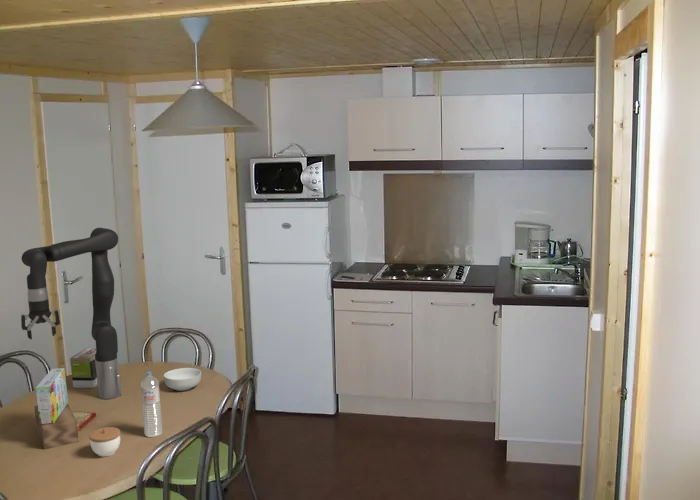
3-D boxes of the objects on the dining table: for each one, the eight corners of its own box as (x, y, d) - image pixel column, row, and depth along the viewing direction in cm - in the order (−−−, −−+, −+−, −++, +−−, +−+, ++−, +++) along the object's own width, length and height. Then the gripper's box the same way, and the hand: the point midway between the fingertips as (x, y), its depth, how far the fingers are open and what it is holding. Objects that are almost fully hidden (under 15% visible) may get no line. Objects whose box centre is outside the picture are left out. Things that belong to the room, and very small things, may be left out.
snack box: (54, 404, 281) (51, 368, 278) (69, 402, 281) (65, 367, 279) (38, 425, 260) (34, 386, 257) (54, 424, 261) (50, 385, 258)
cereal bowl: (209, 385, 320) (208, 370, 319) (183, 397, 307) (182, 381, 305) (183, 379, 329) (182, 365, 328) (156, 390, 316) (155, 375, 314)
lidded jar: (91, 462, 247) (89, 437, 245) (89, 450, 256) (87, 426, 255) (123, 456, 251) (121, 431, 249) (120, 444, 260) (118, 420, 259)
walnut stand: (67, 418, 286) (66, 400, 285) (78, 441, 264) (76, 421, 262) (36, 425, 280) (34, 406, 279) (44, 449, 258) (42, 428, 256)
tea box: (88, 376, 336) (86, 347, 334) (108, 377, 335) (105, 347, 332) (72, 388, 321) (69, 357, 319) (92, 388, 320) (89, 357, 317)
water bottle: (166, 431, 271) (161, 370, 267) (155, 438, 265) (151, 376, 261) (151, 429, 273) (146, 368, 269) (140, 436, 267) (135, 374, 263)
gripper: (55, 294, 287) (59, 332, 290) (17, 299, 280) (22, 337, 283) (58, 297, 281) (62, 336, 284) (19, 302, 274) (24, 342, 277)
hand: (42, 337), depth 283 cm, fingers open, 8 cm apart
